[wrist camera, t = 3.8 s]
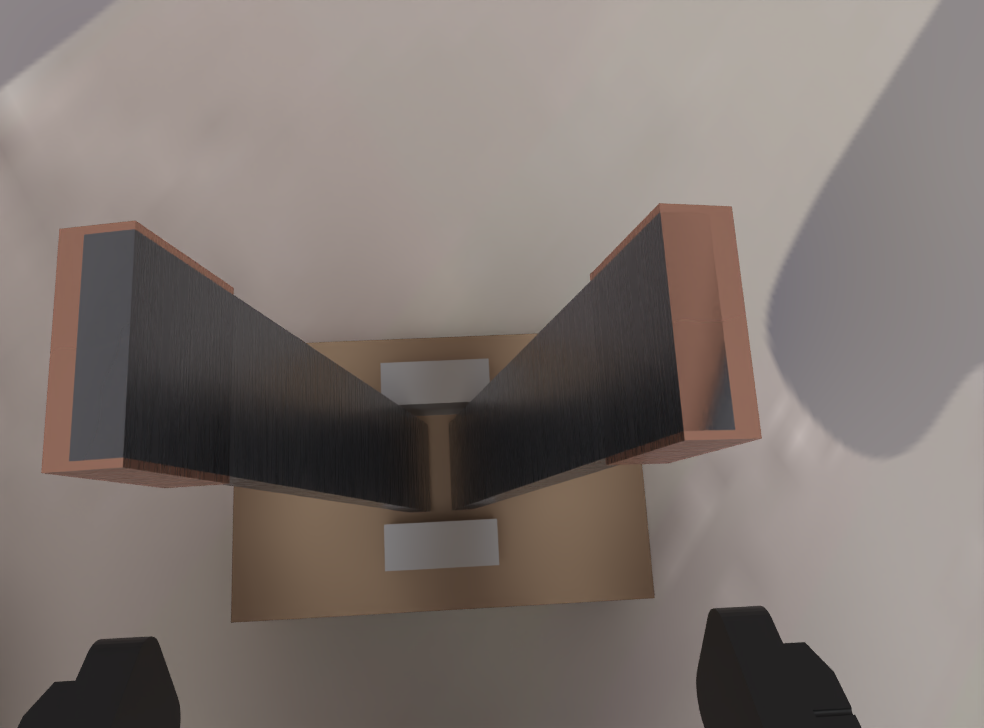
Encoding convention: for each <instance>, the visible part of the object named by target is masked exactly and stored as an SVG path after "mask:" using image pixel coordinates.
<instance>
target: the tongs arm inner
mask: <svg viewBox="0 0 984 728" xmlns="http://www.w3.org/2000/svg"><path fill="white" fill-rule="evenodd" d="M233 294H234V288H233V287H231V286H230V285H229V284H227V283H226V282H224V281H223V280H221V279H220V278H218V277H217V276H215V275H214V274H212V273H211V272H210V271H208V270H207V269H205V268H204V267H202V266H201V265H199V264H198V263H196V262H195V261H194V260H192V259H191V258H189V257H188V256H186V255H185V254H183V253H182V252H180V251H179V250H177V249H176V248H175V247H173V246H172V245H170V244H169V243H167V242H166V241H164V240H163V239H161V238H160V237H159V236H157V235H156V234H154V233H153V232H151V231H150V230H148V229H147V228H145V227H144V226H142V225H141V224H140V223H138V222H137V221H127V222H118V223H109V224H100V225H91V226H82V227H73V228H64V229H59V243H58V256H57V270H56V283H55V297H54V310H53V324H52V337H51V351H50V364H49V378H48V391H47V405H46V418H45V432H44V445H43V459H42V472H41V473H45V474H53V475H61V476H69V477H78V478H86V479H94V480H102V481H110V482H119V483H127V484H135V485H143V486H151V487H160V488H175V487H190V486H205V485H220V484H222V485H229V486H236V487H242V488H249V489H256V490H262V491H269V492H276V493H282V494H289V495H296V496H302V497H309V498H316V499H322V500H329V501H336V502H342V503H349V504H356V505H362V506H369V507H376V508H382V509H389V510H396V511H402V512H409V513H413V512H430V511H431V505H430V476H429V447H428V424H426V423H425V422H423V421H422V420H420V419H419V418H417V417H416V416H414V415H413V414H411V413H410V412H408V411H407V410H405V409H404V408H402V407H401V406H399V405H398V404H396V403H395V402H393V401H392V400H390V399H389V398H387V397H386V396H384V395H383V394H381V393H380V392H378V391H377V390H375V389H374V388H372V387H371V386H369V385H368V384H366V383H365V382H363V381H362V380H360V379H359V378H357V377H356V376H354V375H353V374H351V373H350V372H348V371H347V370H345V369H344V368H342V367H341V366H339V365H338V364H336V363H335V362H333V361H332V360H330V359H329V358H327V357H326V356H324V355H323V354H321V353H320V352H318V351H317V350H315V349H314V348H312V347H311V346H309V345H308V344H306V343H305V342H303V341H302V340H300V339H299V338H297V337H296V336H294V335H293V334H291V333H290V332H288V331H287V330H285V329H284V328H282V327H281V326H279V325H278V324H276V323H275V322H273V321H272V320H270V319H269V318H267V317H266V316H264V315H263V314H261V313H260V312H258V311H257V310H255V309H254V308H252V307H251V306H249V305H248V304H246V303H245V302H243V301H242V300H240V299H239V298H237V297H236V296H234V295H233Z"/></svg>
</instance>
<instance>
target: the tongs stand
mask: <svg viewBox="0 0 984 728" xmlns="http://www.w3.org/2000/svg"><path fill="white" fill-rule="evenodd" d="M536 335H537V334H515V335H490V336H466V337H441V338H417V339H392V340H368V341H343V342H319V343H306V344H308V345H309V346H311V347H312V348H314V349H315V350H317V351H318V352H320V353H321V354H323V355H324V356H326V357H327V358H329V359H330V360H332V361H333V362H335V363H336V364H338V365H339V366H341V367H342V368H344V369H345V370H347V371H348V372H350V373H351V374H353V375H354V376H356V377H357V378H359V379H360V380H362V381H363V382H365V383H366V384H368V385H369V386H371V387H372V388H374V389H375V390H377V391H378V392H380V393H381V394H383V395H384V396H386V397H387V398H389V399H390V400H392V401H393V402H395V403H396V404H398V405H399V406H401V407H402V408H404V409H405V410H407V411H408V412H410V413H411V414H413V415H414V416H416V417H417V418H419V419H420V420H422V421H423V422H425V423H426V424H428V447H429V476H430V505H431V511H430V512H413V513H409V512H402V511H396V510H389V509H382V508H376V507H369V506H362V505H356V504H349V503H342V502H336V501H329V500H322V499H316V498H309V497H302V496H296V495H289V494H282V493H276V492H269V491H262V490H256V489H249V488H242V487H236V486H234V502H233V552H232V601H231V623H232V622H249V621H266V620H284V619H301V618H318V617H336V616H353V615H370V614H388V613H405V612H422V611H440V610H457V609H475V608H492V607H509V606H527V605H544V604H561V603H579V602H596V601H613V600H631V599H648V598H655V597H654V586H653V576H652V565H651V554H650V544H649V533H648V523H647V512H646V502H645V491H644V480H643V470H642V464H632V465H618V466H615V467H611V468H608V469H605V470H601V471H598V472H595V473H591V474H588V475H585V476H582V477H578V478H575V479H572V480H568V481H565V482H562V483H558V484H555V485H552V486H549V487H545V488H542V489H539V490H535V491H532V492H529V493H525V494H522V495H519V496H516V497H512V498H509V499H506V500H502V501H499V502H496V503H492V504H489V505H486V506H483V507H479V508H476V509H471V510H452V494H451V469H450V445H449V423H450V422H451V421H452V420H453V419H454V418H455V417H456V416H457V415H458V414H459V413H460V412H461V411H462V410H463V409H464V408H465V407H466V406H467V405H468V404H469V403H470V402H471V401H472V400H473V399H474V398H475V397H476V396H477V395H478V394H479V393H480V392H481V391H482V390H483V389H484V388H485V387H486V386H487V385H488V384H489V383H490V382H491V381H492V380H493V379H494V378H495V377H496V376H497V374H498V373H499V372H500V371H501V370H502V369H503V368H504V367H505V366H506V365H507V364H508V363H509V362H510V361H511V360H512V359H513V358H514V357H515V356H516V355H517V354H518V353H519V352H520V351H521V350H522V349H523V348H524V347H525V346H526V345H527V344H528V343H529V342H530V341H531V340H532V339H533V338H534V337H535V336H536Z"/></svg>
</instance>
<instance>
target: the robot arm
mask: <svg viewBox="0 0 984 728" xmlns="http://www.w3.org/2000/svg"><path fill="white" fill-rule="evenodd" d="M696 687H697V698H698V704H699V710H700V714H701V718H702V721H703V724H704V727H705V728H861V726H860V724H859V722H858V720H857V718H856V716H855V715H853V714H852V710H851V709H852V708H851V705H850V703H849V701H848V699H847V697H846V695H845V693H844V691H843V689H842V687H841V685H840V683H839V681H838V679H837V677H836V675H835V673H834V672H833V671H832V670H831V669H830V668H829V667H828V666H827V664H826V663H825V662H824V661H823V660H822V659H821V658H820V657H819V656H818V655H817V654H816V653H815V652H814V651H813V650H812V649H811V648H810V647H809V646H808V645H807V644H806V643H805V642H801V643H784V644H783V642H782V640H781V638H780V636H779V633H778V631H777V629H776V627H775V625H774V622H773V620H772V618H771V616H770V614H769V613H768V611H767V610H766V609H765V608H764V607H763V606H750V607H732V608H713V609H711V610H710V612H709V614H708V618H707V624H706V629H705V634H704V639H703V644H702V649H701V654H700V659H699V664H698V669H697V677H696ZM18 728H180V705H179V700H178V697H177V694H176V691H175V688H174V685H173V682H172V679H171V677H170V674H169V671H168V668H167V665H166V662H165V659H164V657H163V654H162V651H161V648H160V645H159V643H158V641H157V639H156V638H155V637H133V638H115V639H100V640H98V641H96V642H95V643H94V644H93V645H92V647H91V648H90V650H89V652H88V654H87V656H86V658H85V660H84V663H83V665H82V667H81V669H80V672H79V674H78V676H77V678H76V681H63V682H54V683H53V684H52V685H51V687H50V688H49V689H48V690H47V691H46V692H45V693H44V694H43V695H42V696H41V697H40V699H39V700H38V701H37V702H36V703H35V704H34V705H33V706H32V707H31V708H30V709H29V711H28V712H27V713H26V714H25V715H24V716H23V717H22V720H21V722H20V724H19V726H18Z"/></svg>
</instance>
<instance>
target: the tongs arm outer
mask: <svg viewBox="0 0 984 728" xmlns="http://www.w3.org/2000/svg"><path fill="white" fill-rule="evenodd" d="M758 439H762V437H761V429H760V421H759V413H758V406H757V398H756V390H755V382H754V375H753V367H752V359H751V351H750V344H749V336H748V328H747V321H746V313H745V305H744V297H743V290H742V282H741V274H740V266H739V259H738V251H737V243H736V235H735V228H734V220H733V212H732V207H731V206H709V205H686V204H664V203H659V204H658V205H657V206H656V207H655V208H654V209H653V210H652V211H651V212H650V213H649V215H648V216H647V217H646V218H645V219H644V220H643V221H642V222H641V223H640V224H639V225H638V226H637V227H636V228H635V229H634V230H633V231H632V232H631V233H630V234H629V235H628V236H627V237H626V238H625V239H624V240H623V241H622V242H621V243H620V244H619V245H618V246H617V247H616V248H615V249H614V250H613V252H612V253H611V254H610V255H609V256H608V257H607V258H606V259H605V260H604V261H603V262H602V263H601V264H600V265H599V266H598V267H597V268H596V269H595V270H594V271H593V272H592V273H591V274H590V282H589V283H588V284H587V285H586V286H585V287H584V288H583V289H582V290H581V291H580V292H579V293H578V294H577V295H576V296H575V297H574V298H573V299H572V300H571V301H570V302H569V303H568V304H567V305H566V306H565V307H564V308H563V309H562V310H561V311H560V312H559V313H558V314H557V315H556V316H555V317H554V318H553V319H552V320H551V321H550V322H549V323H548V324H547V325H546V326H545V327H544V328H543V329H542V330H541V331H540V332H539V333H538V334H537V335H536V336H535V337H534V338H533V339H532V340H531V341H530V342H529V343H528V344H527V345H526V346H525V347H524V348H523V349H522V350H521V351H520V352H519V353H518V354H517V355H516V356H515V357H514V358H513V359H512V360H511V361H510V362H509V363H508V364H507V365H506V366H505V367H504V368H503V369H502V370H501V371H500V372H499V373H498V374H497V376H496V377H495V378H494V379H493V380H492V381H491V382H490V383H489V384H488V385H487V386H486V387H485V388H484V389H483V390H482V391H481V392H480V393H479V394H478V395H477V396H476V397H475V398H474V399H473V400H472V401H471V402H470V403H469V404H468V405H467V406H466V407H465V408H464V409H463V410H462V411H461V412H460V413H459V414H458V415H457V416H456V417H455V418H454V419H453V420H452V421H451V422H450V423H449V445H450V469H451V494H452V510H471V509H476V508H479V507H483V506H486V505H489V504H492V503H496V502H499V501H502V500H506V499H509V498H512V497H516V496H519V495H522V494H525V493H529V492H532V491H535V490H539V489H542V488H545V487H549V486H552V485H555V484H558V483H562V482H565V481H568V480H572V479H575V478H578V477H582V476H585V475H588V474H591V473H595V472H598V471H601V470H605V469H608V468H611V467H615V466H618V465H632V464H663V463H671V462H675V461H679V460H683V459H686V458H690V457H694V456H698V455H701V454H705V453H709V452H713V451H717V450H720V449H724V448H728V447H732V446H735V445H739V444H743V443H747V442H750V441H754V440H758Z"/></svg>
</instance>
